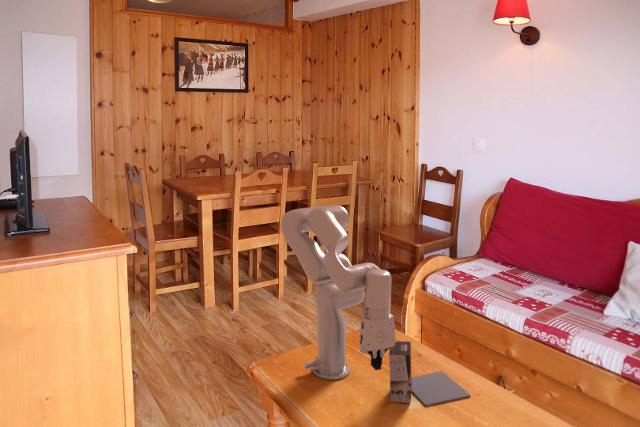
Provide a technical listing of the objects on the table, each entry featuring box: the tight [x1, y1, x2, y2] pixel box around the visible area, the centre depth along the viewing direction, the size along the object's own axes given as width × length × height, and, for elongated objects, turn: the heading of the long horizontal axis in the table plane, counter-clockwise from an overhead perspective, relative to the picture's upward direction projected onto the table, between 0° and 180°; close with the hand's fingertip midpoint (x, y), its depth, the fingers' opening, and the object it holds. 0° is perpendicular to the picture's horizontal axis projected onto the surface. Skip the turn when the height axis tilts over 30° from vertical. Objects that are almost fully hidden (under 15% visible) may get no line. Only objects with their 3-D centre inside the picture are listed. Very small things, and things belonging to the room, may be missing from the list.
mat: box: [411, 370, 471, 407], centre depth 170 cm, size 16×16×1 cm
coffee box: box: [388, 341, 413, 404], centre depth 164 cm, size 9×6×16 cm
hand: (376, 367), depth 161 cm, fingers closed
